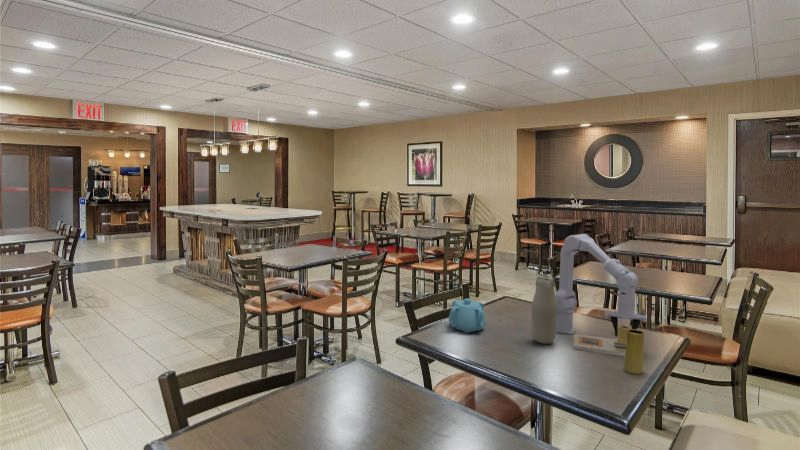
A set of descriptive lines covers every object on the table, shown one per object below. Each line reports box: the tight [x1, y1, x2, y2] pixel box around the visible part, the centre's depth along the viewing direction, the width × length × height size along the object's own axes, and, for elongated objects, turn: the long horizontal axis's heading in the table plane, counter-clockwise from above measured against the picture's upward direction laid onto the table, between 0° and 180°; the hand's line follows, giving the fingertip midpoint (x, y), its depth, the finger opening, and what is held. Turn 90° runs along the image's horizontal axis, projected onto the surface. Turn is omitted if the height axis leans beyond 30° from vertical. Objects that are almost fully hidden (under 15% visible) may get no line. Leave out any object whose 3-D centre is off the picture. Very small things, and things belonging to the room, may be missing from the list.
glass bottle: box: [530, 274, 558, 345], centre depth 183 cm, size 10×10×28 cm
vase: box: [623, 329, 645, 375], centre depth 158 cm, size 6×6×14 cm
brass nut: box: [615, 324, 632, 344], centre depth 177 cm, size 5×5×6 cm
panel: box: [572, 333, 627, 358], centre depth 180 cm, size 24×14×2 cm, turn 67°
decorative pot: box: [448, 298, 487, 334], centre depth 200 cm, size 16×16×14 cm
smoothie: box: [615, 310, 631, 326], centre depth 195 cm, size 6×6×14 cm
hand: (623, 336), depth 177 cm, fingers closed on brass nut, 5 cm apart
